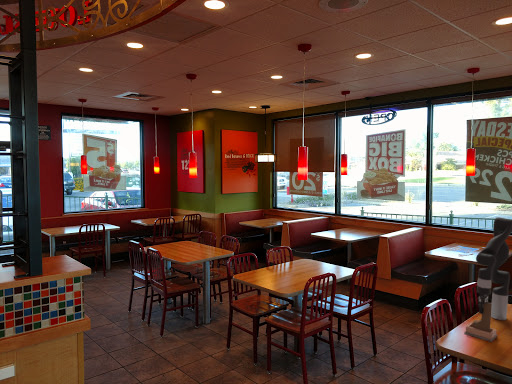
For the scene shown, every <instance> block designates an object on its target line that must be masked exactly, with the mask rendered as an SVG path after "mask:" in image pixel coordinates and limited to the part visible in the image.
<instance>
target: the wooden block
mask: <svg viewBox="0 0 512 384" xmlns="http://www.w3.org/2000/svg"><path fill="white" fill-rule="evenodd" d="M491 309H492V302H489V301H488V302H485V305H484V310H483V314H481V319H479V320H477V319H476V320H473V321H472V323H473V328H476V329H479V330H483V331H486V332H490V328H491V321H492V317H491Z"/></svg>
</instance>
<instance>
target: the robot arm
mask: <svg viewBox="0 0 512 384" xmlns="http://www.w3.org/2000/svg"><path fill="white" fill-rule="evenodd" d="M492 225H493V226H492V227H493V231H492V232H493V238H491V239H490V240H488V242H487V244H486V246H485V247H484V248H483V249H482V250H480V251H479V252H478V253H477V255H476V256H475V262H476V263H477V264H479V265H480V266H481V265H482V266H486V268H479V269H478V275H477V276H478V277H477V284H476V292H477V294H479V296H478V298H477V307H478V314H479V315H482V314H483V310H484V305H485V302H489V296H490V295H491V293H492V296H491V297H492V298H491V303H492V309H491V319H492V318H493V319H495V320H500V321H506V320H507V314H508V303H509V302H508V301H509V287H510V280H511V274H510V272H509V271H503V270H499V268H501V266H502V265H503V264H504V263H505V262H507V261H508V259H509V256H510V247H509V245H508V243H507V239H508V238H509V236H510V235H511V234H512V219H510V218H506V217H505V218H504V217H500V216H497V217H495V218H494V220H493V223H492ZM492 283H493V284H495V285H496V284H497V285H502V286H498V287H497V286H496V287H494V288H493V289H492Z"/></svg>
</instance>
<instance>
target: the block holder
mask: <svg viewBox="0 0 512 384" xmlns="http://www.w3.org/2000/svg"><path fill="white" fill-rule="evenodd" d="M464 335H468V336H470V337H474V338H477V339H480V340H483V341H488V342H491V343H493V341H494V340H495V339H496V338H497V336H498V334H497V329H495V328H492V327H490V332H486V331H483V330H479V329H476V328H473V321H472V322H469V323H467V325H466V326H465V331H464Z"/></svg>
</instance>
